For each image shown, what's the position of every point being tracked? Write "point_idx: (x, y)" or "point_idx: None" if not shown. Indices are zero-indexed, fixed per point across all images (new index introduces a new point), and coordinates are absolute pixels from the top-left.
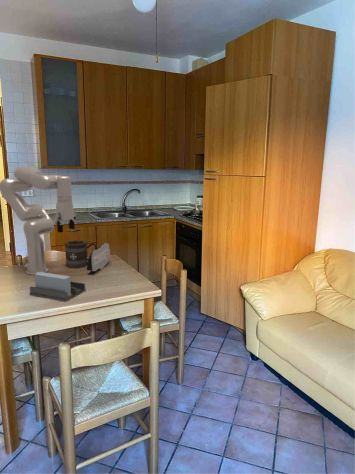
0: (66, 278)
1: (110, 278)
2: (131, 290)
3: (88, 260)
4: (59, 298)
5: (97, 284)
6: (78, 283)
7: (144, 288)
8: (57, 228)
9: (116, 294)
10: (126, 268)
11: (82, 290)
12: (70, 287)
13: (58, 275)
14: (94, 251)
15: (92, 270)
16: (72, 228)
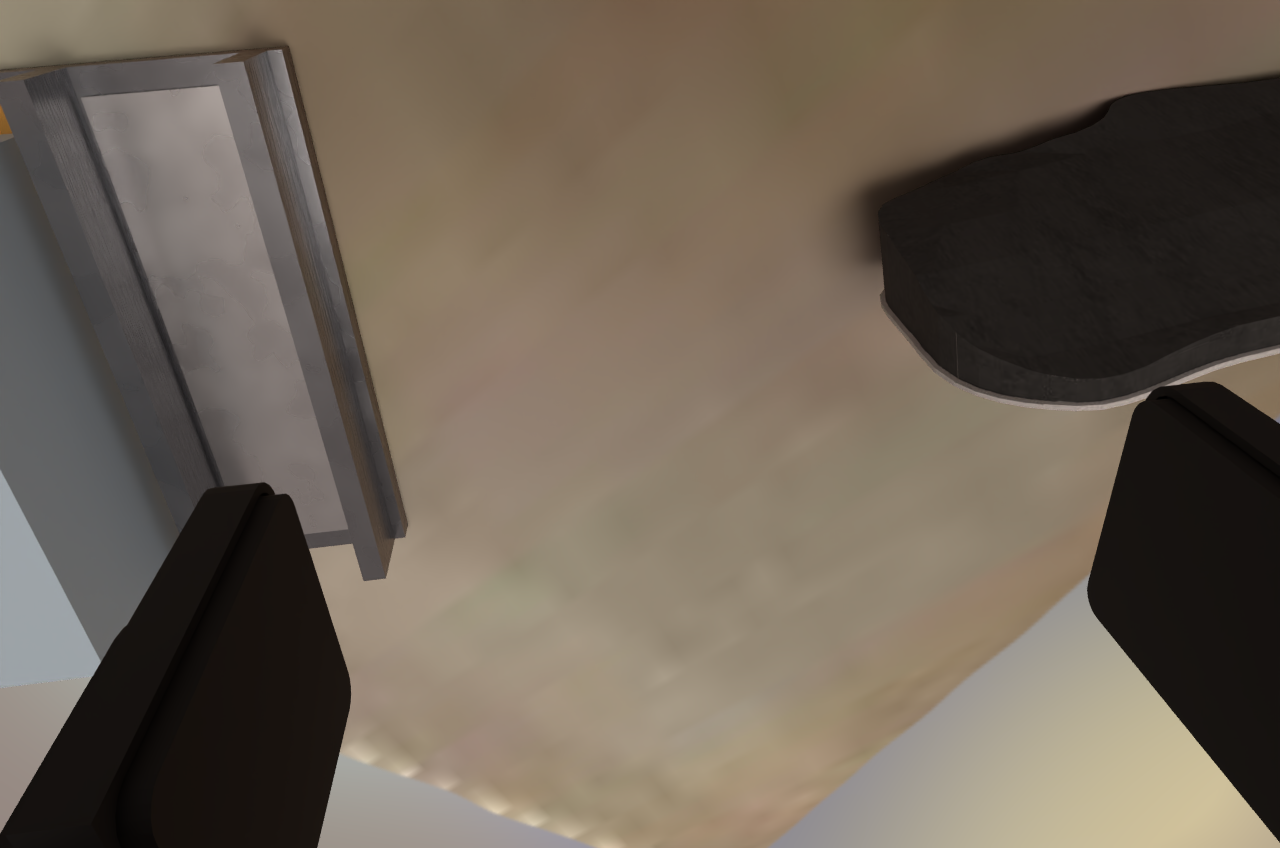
0: (34, 680)
1: (828, 500)
2: (625, 783)
3: (928, 304)
4: None
5: (610, 506)
6: (347, 520)
7: (710, 821)
8: (144, 608)
9: (489, 753)
10: None
11: (346, 543)
12: None
13: (11, 548)
14: (1102, 397)
15: (880, 295)
16: (1112, 572)
